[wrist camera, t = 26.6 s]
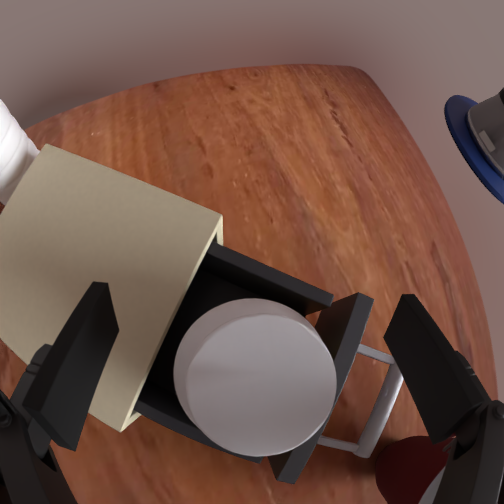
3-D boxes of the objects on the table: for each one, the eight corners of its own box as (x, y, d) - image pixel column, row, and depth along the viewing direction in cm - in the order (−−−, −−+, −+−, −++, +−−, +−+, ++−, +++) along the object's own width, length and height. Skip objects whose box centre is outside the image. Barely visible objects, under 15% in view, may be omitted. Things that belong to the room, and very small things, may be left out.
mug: (422, 388, 22) (497, 396, 13) (448, 434, 20) (513, 450, 11) (341, 463, 20) (396, 511, 10) (377, 503, 18) (429, 546, 8)
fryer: (223, 257, 24) (222, 214, 16) (155, 403, 20) (120, 433, 12) (85, 193, 25) (46, 143, 17) (24, 313, 21) (-35, 297, 13)
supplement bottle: (301, 380, 20) (391, 423, 8) (219, 416, 19) (212, 508, 6) (264, 301, 21) (314, 248, 9) (182, 336, 20) (119, 329, 8)
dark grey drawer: (391, 334, 23) (440, 329, 16) (337, 463, 19) (371, 495, 12) (174, 239, 23) (156, 202, 17) (110, 373, 20) (69, 382, 13)
